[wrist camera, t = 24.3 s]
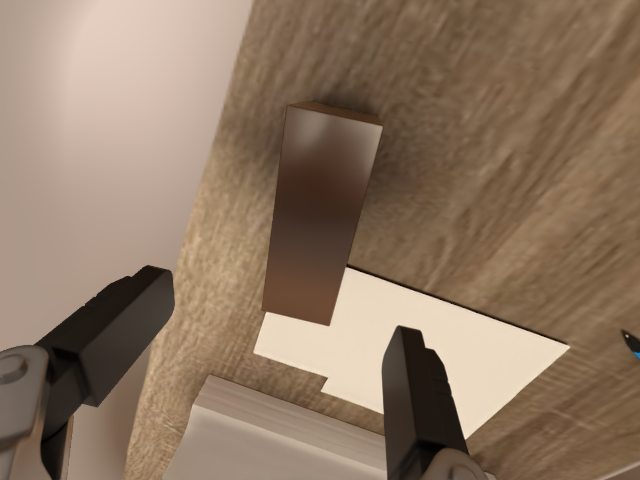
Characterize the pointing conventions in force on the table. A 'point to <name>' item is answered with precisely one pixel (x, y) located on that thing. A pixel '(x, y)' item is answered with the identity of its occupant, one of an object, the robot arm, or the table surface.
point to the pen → (633, 345)
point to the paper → (438, 333)
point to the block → (271, 441)
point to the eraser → (317, 207)
